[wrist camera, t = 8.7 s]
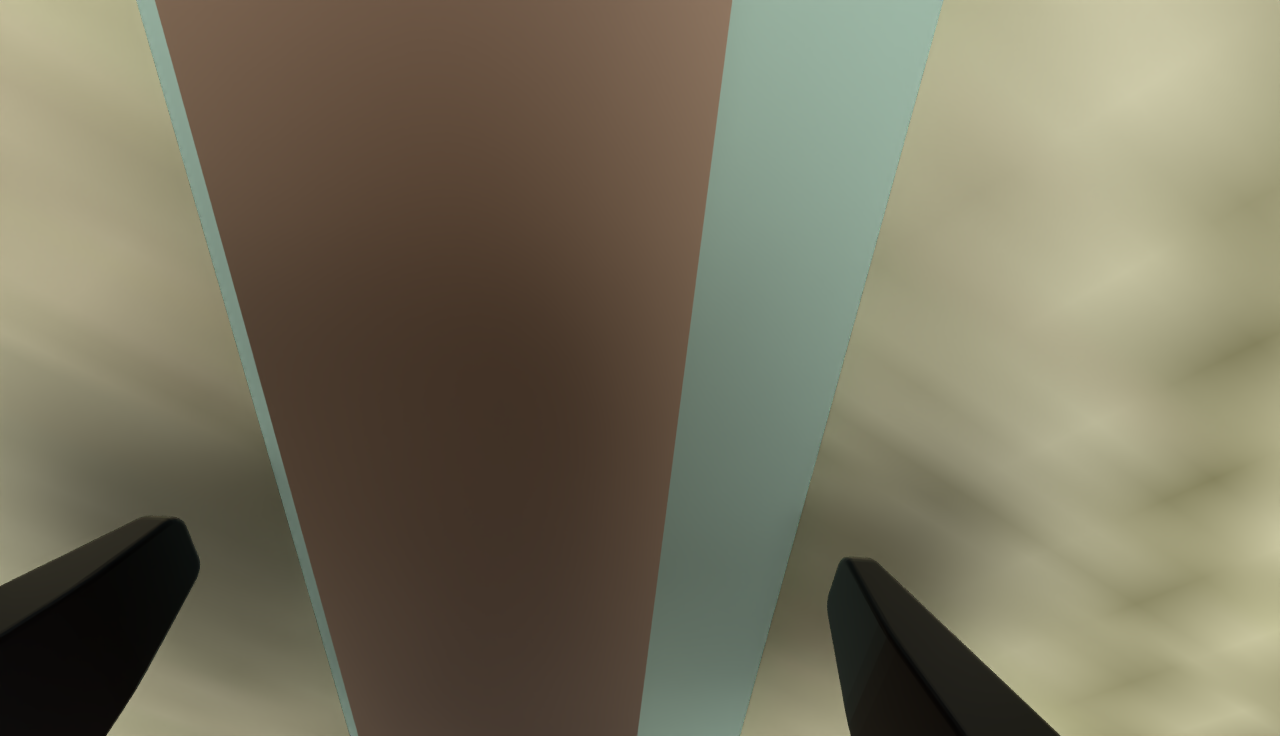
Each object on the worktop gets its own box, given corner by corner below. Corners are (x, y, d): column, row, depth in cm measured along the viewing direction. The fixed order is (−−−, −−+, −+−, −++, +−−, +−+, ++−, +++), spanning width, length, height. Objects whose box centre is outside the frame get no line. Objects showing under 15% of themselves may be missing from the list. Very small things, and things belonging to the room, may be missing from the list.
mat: (383, 793, 16) (374, 818, 15) (-63, -893, 4) (-159, -1020, 4) (710, 807, 16) (712, 834, 16) (1116, -739, 5) (1175, -841, 4)
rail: (472, 782, 14) (425, 980, 11) (319, -499, 5) (-250, -1462, 2) (613, 789, 15) (605, 987, 11) (739, -449, 5) (897, -1278, 2)
